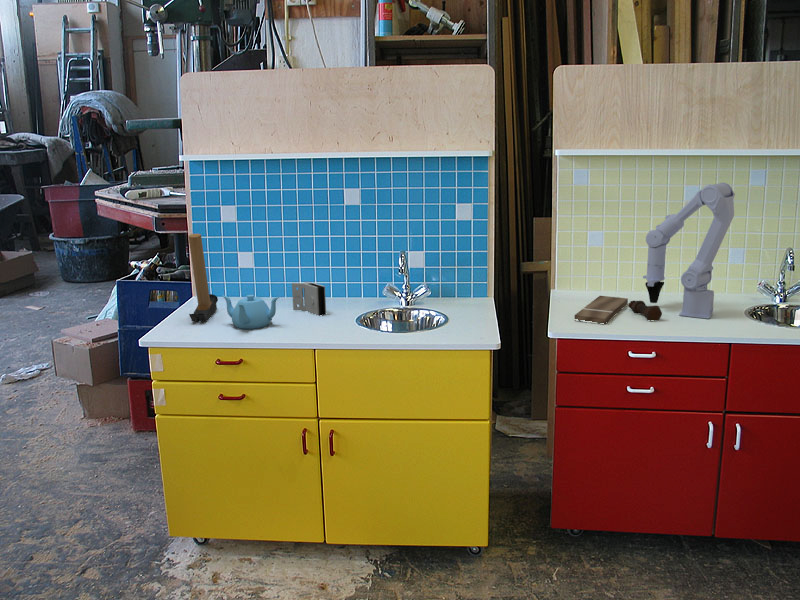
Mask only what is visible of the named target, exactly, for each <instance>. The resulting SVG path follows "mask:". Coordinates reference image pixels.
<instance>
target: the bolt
mask: <svg viewBox="0 0 800 600" xmlns="http://www.w3.org/2000/svg"><path fill="white" fill-rule="evenodd" d="M628 307H629V309H630V310H632V312H633V314H635V313H641V314H640V315H643V316H644V317H645V318H646V321H648V320H658V321H659V320H661V318H662V316H663V315H662V314H663V312H662V310H661V308H660V306H659V305H647V304H646V303H645V301H643V300H631V301H629V303H628Z"/></svg>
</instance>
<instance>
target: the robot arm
mask: <svg viewBox="0 0 800 600" xmlns="http://www.w3.org/2000/svg"><path fill="white" fill-rule="evenodd" d="M735 195H736V194H735V192H734V190H733V187H731V185H730V184H728V183H727V182H719V183H716V184H707V185H705V186H703V188H702V189H701V190H699V191H697V192H696V193H695V195H694V196H693V197H692V198H690V200H689V201H687V203H686V204H685V205H684V206H683V207H682V208H681V209H680V210H679V211H678V212H677V213H671V214H667V215H666V216H665V217H664V220H663V221H662V222H661V223H660V224H658V225H656V226H655V229H653V230H649V231H648V233H646V236H645V242H646V244H647V246H648V248H647V249H648V251H647V266H646V274H645V275H643V277H642V279H646V282H645V284H644V286H645V287H646V289H647V292H648V297H649V298H648V299H649V303H651V304H657V303H658V301H659V297H660V294H661V291H662V289H663V286H664V285H665V282H664V280H665V270H666V269H665V268H666V254H667V253H666V252H667V251H666V250H667V245H668V244H669V243H670V240H671V239H672V237H673V236H674V235H676V234H677V233H678V232H679V231H680V230H681V229H683V227H684V225H685V221H686V220H687V219H688V218H690V216H692V215H693V214H694V213H695V212H697V211H698V210H699V209H701V207H703V206H707V208H709V209H710V211H711V212H712V214H713V216H714V217H713V219H712V221H711V223H710V226H709V228H708V230H707V233H706V235H705V236H704V239H703V242H702V243H701V246H700V248H699V251H698V252H697V254H696V257H695V259H694V260H693V262H691V264H690V265H688V268H687V270H685V271H684V272H683V273H682V275H681V277H680V281H681V285H682V286H683V296H682V297H683V298H682V310H681V311H680V312H679V314H678V315H679V316H680V317H682V316H683V317H690V318H697V319H710V318H711V316H712V315H713V313H714V299H715V291H714V290H711V289H708V284H710V282H711V281H712V277H713V275H712V273H713V270H714V267H713V262H714V260H715V258H716V256H717V254H718V252H719V249H720V247H721V245H722V243H723V241H724V239H725V236H726V235H727V232H728V230H729V228H730V226H731V224H732V221H733V218H734V216H735V205H734V204H735V203H734V200H735V199H734V198H735Z"/></svg>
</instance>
